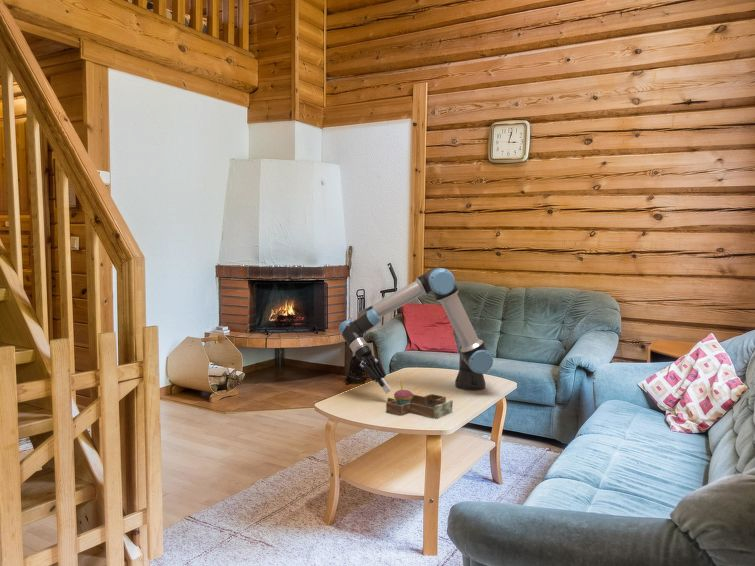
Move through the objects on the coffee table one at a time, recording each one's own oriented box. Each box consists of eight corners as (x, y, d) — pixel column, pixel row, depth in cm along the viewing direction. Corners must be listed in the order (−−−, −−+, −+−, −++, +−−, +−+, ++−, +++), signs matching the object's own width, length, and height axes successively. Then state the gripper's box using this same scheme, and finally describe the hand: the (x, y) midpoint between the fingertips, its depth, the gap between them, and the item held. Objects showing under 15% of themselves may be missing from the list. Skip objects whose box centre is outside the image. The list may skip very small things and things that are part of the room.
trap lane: (412, 398, 275) (413, 387, 275) (460, 409, 260) (460, 397, 260) (378, 410, 255) (378, 398, 255) (426, 422, 239) (427, 410, 239)
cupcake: (389, 405, 263) (390, 378, 262) (402, 402, 269) (403, 375, 268) (404, 409, 257) (404, 382, 256) (417, 406, 263) (418, 379, 262)
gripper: (365, 352, 283) (392, 393, 274) (347, 356, 273) (374, 399, 264) (374, 343, 279) (402, 384, 270) (356, 346, 269) (384, 389, 260)
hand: (388, 391), depth 267 cm, fingers closed
